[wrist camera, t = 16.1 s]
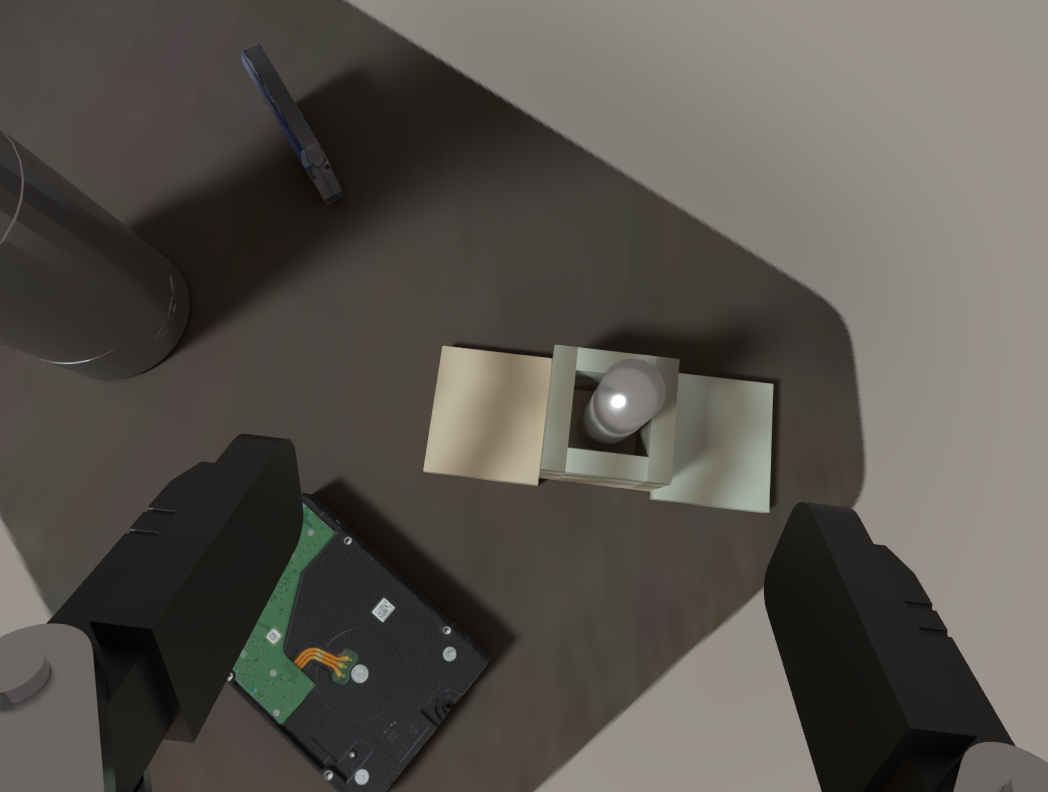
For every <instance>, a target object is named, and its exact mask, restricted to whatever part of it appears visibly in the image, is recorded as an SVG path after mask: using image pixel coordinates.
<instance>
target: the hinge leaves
mask: <svg viewBox="0 0 1048 792" xmlns="http://www.w3.org/2000/svg"><path fill="white" fill-rule="evenodd" d="M625 359H639V360H643V361H646V362H648V363H649V364H651V365H653V366H654V367H655V368H656V369H657V370H658V371H659V373H660V374H661V376H662V377H663V380H664V382H665V386H666V397H665V401H664V404H663V406H662V407H661V409H660V410H659V411H658V413H657V414H655V415H654V416H653V417H652V418H651V419H650V420H648V421H647V422H646V423H645V424H644V425H642V426H641V427H640V428H639V429H638V430H637V431H635V432H634V433H633V434H632V435H631V436H629V437H628V438H627V439H626V440H625V441H624V442H622V443H621V444H620V445H619V446H618V447H616V448H615V449H613V450H610V451H606V452H600V451H595V450H592V449H590V448H589V447H587V446H586V445H585V444H584V443H583V441H582V440H581V438H580V436H579V433H578V421H579V418H580V416H581V414H582V413H583V411H584V409H585V407H586V406H587V404H588V402H589V401H590V399H591V397H592V395H593V394H594V392H595V390H596V389H597V387H598V385H599V384H600V382H601V380H602V378H603V377H604V375H605V373H606V372H607V370H608V369H609V368H610V367H611V366H612V365H614V364H615V363H617V362H619V361H621V360H625ZM679 360H680V359H674V358H666V357H657V356H648V355H640V354H631V353H622V352H614V351H605V350H596V349H588V348H579V347H570V346H562V345H555V348H554V354H553V359H552V358H544V357H535V356H526V355H518V354H509V353H501V352H492V351H483V350H475V349H466V348H457V347H449V346H443V347H442V353H441V360H440V366H439V373H438V379H437V386H436V392H435V399H434V405H433V412H432V418H431V425H430V431H429V438H428V444H427V451H426V457H425V464H424V470H423V471H424V472H426V473H433V474H442V475H450V476H458V477H467V478H475V479H483V480H492V481H500V482H508V483H517V484H525V485H533V486H538V478H543V479H551V480H560V481H568V482H576V483H585V484H593V485H601V486H610V487H618V488H626V489H635V490H643V491H650V500H658V501H667V502H675V503H683V504H692V505H700V506H708V507H717V508H725V509H733V510H742V511H750V512H758V513H769V501H770V470H771V438H772V407H773V384H768V383H760V382H751V381H742V380H734V379H725V378H716V377H708V376H699V375H691V374H682V373H679ZM551 363H552V364H551Z"/></svg>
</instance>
